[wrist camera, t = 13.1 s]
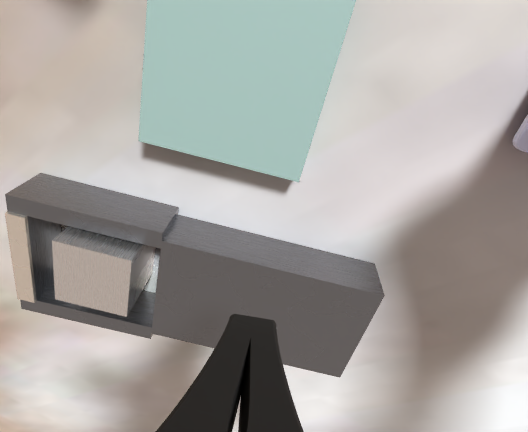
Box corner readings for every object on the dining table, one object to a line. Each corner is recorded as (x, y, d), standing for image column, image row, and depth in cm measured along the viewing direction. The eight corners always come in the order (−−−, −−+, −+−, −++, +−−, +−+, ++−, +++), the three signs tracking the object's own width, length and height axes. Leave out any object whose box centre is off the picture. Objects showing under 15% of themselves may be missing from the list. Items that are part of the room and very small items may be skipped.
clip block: (131, 260, 18) (51, 240, 18) (126, 316, 20) (55, 299, 20) (159, 221, 21) (92, 203, 21) (152, 272, 23) (92, 256, 23)
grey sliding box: (377, 257, 21) (389, 291, 18) (333, 346, 25) (337, 385, 22) (40, 172, 20) (2, 196, 18) (49, 279, 24) (19, 311, 21)
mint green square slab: (352, -3, 15) (357, -5, 14) (298, 170, 19) (298, 182, 17) (164, -55, 15) (151, -62, 13) (149, 132, 18) (138, 141, 17)
